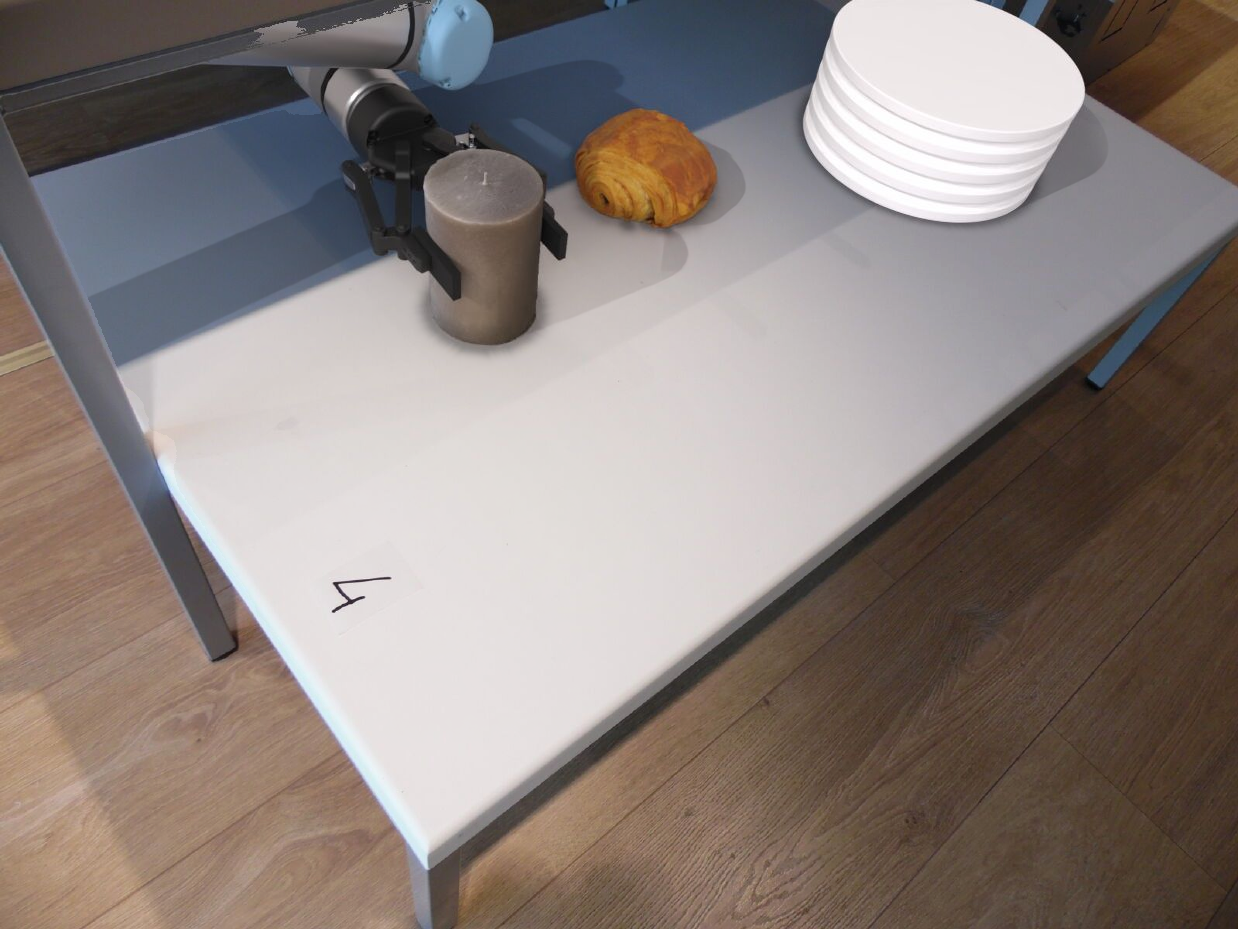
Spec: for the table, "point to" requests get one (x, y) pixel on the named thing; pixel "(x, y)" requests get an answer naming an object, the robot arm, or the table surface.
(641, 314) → the table surface
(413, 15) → the robot arm
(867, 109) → the plate stack
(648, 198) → the croissant
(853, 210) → the table surface
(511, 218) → the pillar candle
